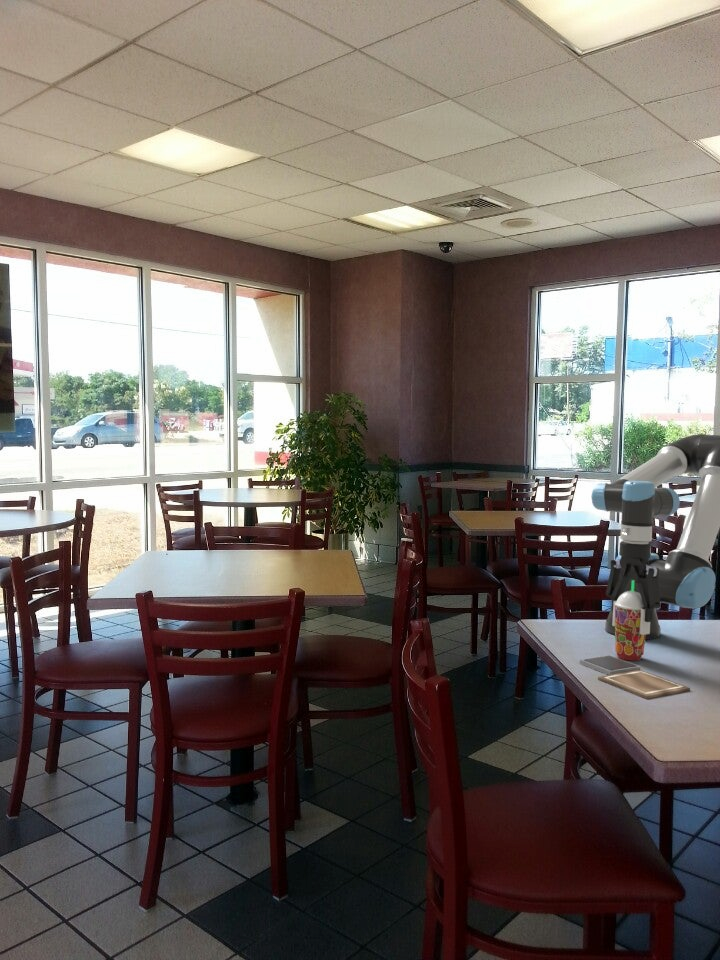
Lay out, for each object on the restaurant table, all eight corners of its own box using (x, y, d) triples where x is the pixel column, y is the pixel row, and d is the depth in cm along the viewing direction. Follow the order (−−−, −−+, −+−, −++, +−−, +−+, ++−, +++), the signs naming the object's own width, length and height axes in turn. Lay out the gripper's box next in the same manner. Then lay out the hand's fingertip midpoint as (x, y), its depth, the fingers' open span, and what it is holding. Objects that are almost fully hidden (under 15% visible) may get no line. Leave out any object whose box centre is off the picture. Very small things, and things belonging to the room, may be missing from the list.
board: (640, 672, 185) (640, 669, 185) (690, 690, 173) (690, 687, 173) (598, 679, 179) (598, 676, 179) (646, 698, 166) (646, 695, 166)
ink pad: (609, 659, 196) (609, 654, 195) (640, 670, 187) (640, 665, 187) (579, 663, 191) (580, 659, 191) (610, 675, 182) (610, 670, 182)
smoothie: (604, 654, 200) (608, 578, 198) (630, 651, 203) (633, 576, 202) (627, 663, 192) (632, 584, 191) (653, 660, 195) (657, 582, 194)
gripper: (593, 536, 203) (589, 621, 204) (659, 548, 184) (653, 641, 186) (614, 535, 207) (609, 618, 208) (680, 547, 188) (674, 638, 190)
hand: (630, 629), depth 197 cm, fingers closed on smoothie, 8 cm apart
